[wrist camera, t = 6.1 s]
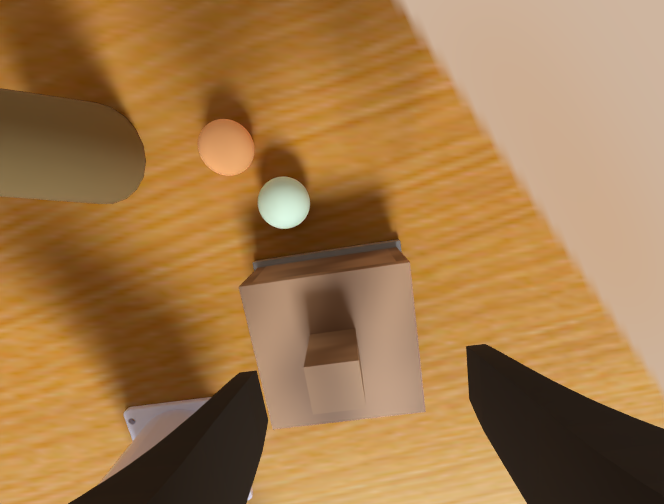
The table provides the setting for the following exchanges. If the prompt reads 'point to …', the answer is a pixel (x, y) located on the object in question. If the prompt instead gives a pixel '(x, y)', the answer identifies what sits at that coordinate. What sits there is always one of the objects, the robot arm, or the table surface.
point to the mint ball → (283, 202)
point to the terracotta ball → (226, 147)
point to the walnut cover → (335, 338)
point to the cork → (66, 150)
